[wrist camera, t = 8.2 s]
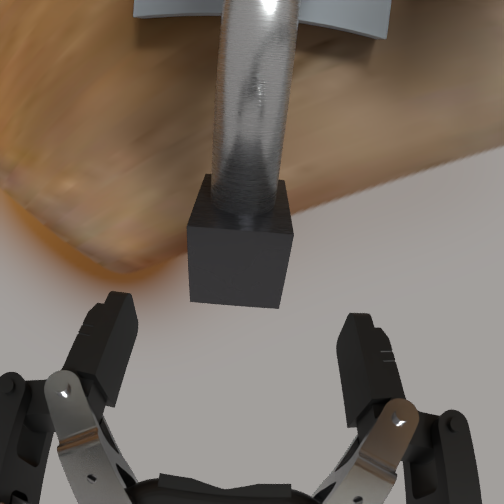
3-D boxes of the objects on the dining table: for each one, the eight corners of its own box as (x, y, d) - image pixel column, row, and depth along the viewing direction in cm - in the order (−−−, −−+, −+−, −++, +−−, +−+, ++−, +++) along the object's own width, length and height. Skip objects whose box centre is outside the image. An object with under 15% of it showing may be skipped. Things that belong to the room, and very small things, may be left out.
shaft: (315, -65, 8) (340, -106, 4) (274, 244, 18) (278, 308, 14) (225, -73, 8) (210, -118, 4) (204, 238, 18) (190, 301, 14)
